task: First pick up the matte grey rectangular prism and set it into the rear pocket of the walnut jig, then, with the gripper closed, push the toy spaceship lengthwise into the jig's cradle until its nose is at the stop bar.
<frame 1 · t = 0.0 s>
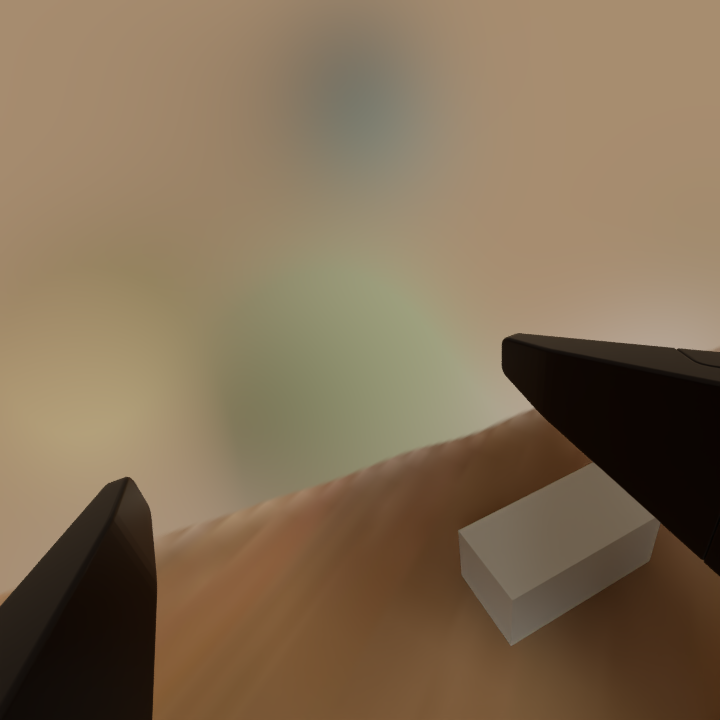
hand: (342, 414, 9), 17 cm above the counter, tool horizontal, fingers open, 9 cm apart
matte grey rectangular prism: (553, 570, 22), on the counter
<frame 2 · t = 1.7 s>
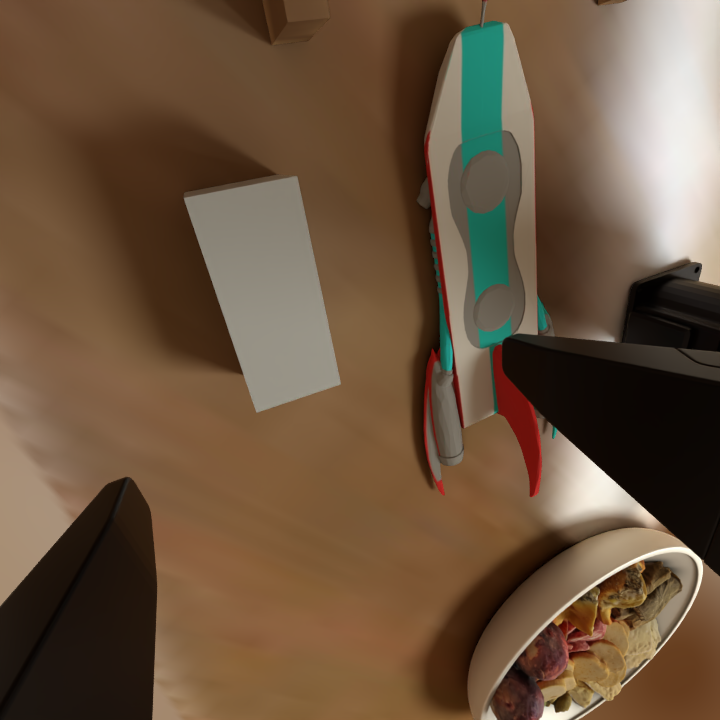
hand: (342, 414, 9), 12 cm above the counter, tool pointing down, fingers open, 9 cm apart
toy spaceship: (469, 296, 25), on the counter
bowl: (561, 610, 48), on the counter
matte grey rectangular prism: (259, 282, 20), on the counter
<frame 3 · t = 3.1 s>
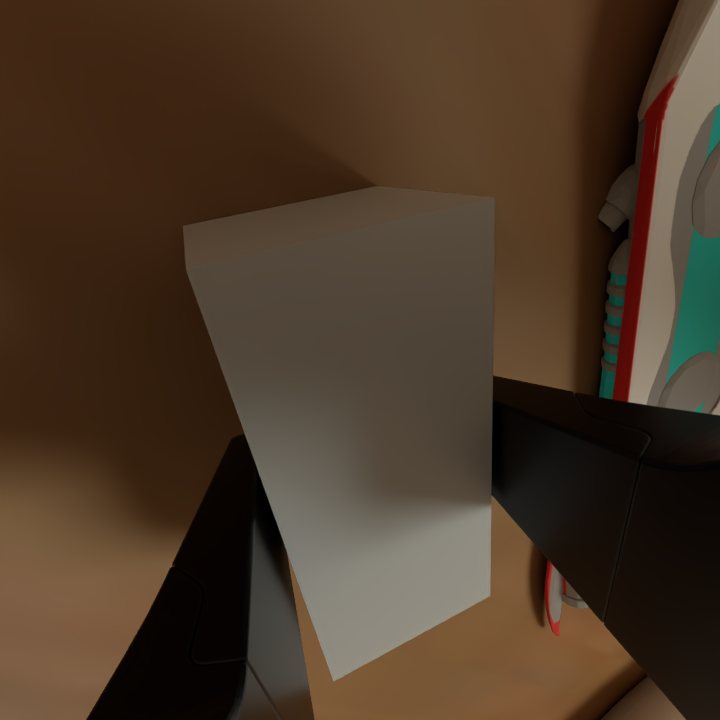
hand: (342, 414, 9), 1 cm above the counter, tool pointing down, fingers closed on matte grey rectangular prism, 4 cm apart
toy spaceship: (630, 363, 16), on the counter
bowl: (648, 711, 39), on the counter
matte grey rectangular prism: (325, 388, 10), on the counter, touching gripper
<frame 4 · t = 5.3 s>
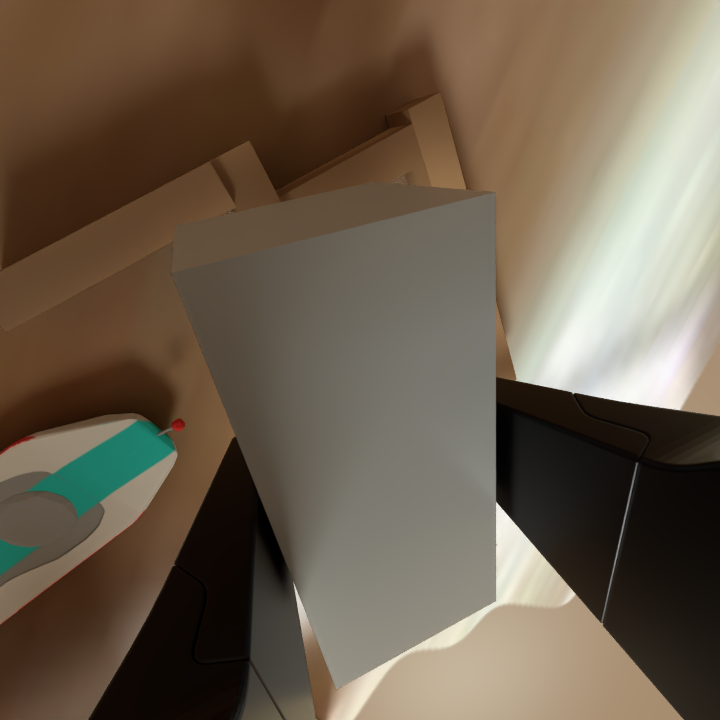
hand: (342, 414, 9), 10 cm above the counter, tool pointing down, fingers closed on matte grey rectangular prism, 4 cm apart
jig: (242, 392, 19), on the counter
matte grey rectangular prism: (325, 390, 10), point 9 cm above the counter, touching gripper
when the fingers open (3 cm above the counter, at t = 7.0 s): matte grey rectangular prism drops 3 cm, resting in jig.
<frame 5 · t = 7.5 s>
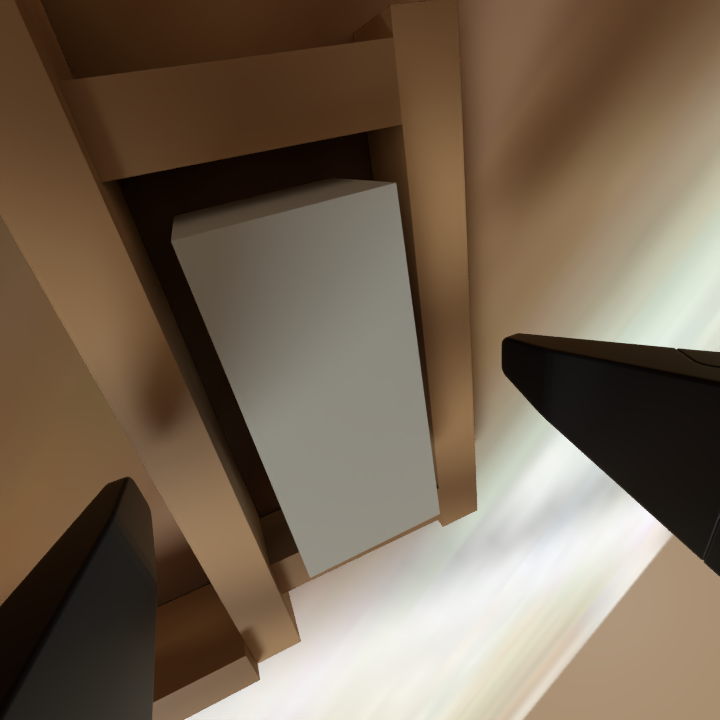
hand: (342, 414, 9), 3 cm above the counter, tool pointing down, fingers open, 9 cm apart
matte grey rectangular prism: (300, 349, 12), resting in jig
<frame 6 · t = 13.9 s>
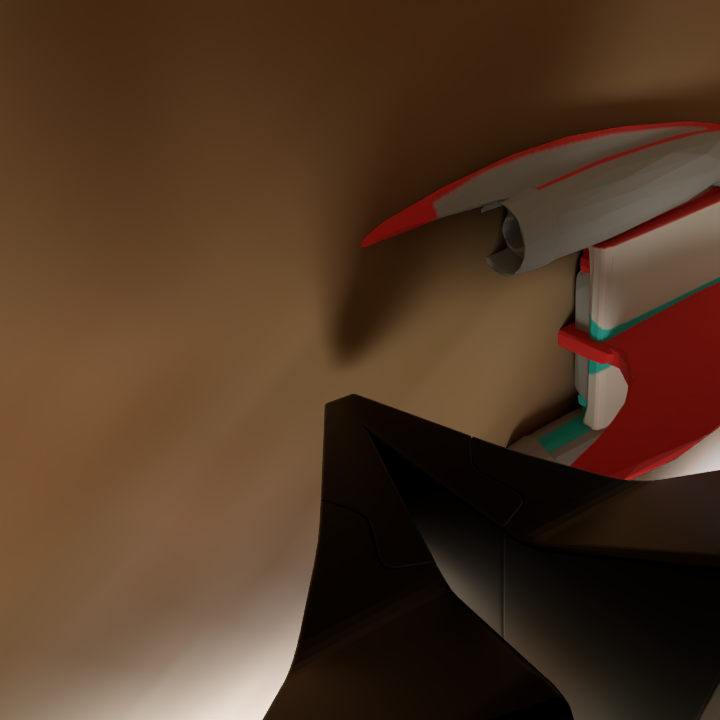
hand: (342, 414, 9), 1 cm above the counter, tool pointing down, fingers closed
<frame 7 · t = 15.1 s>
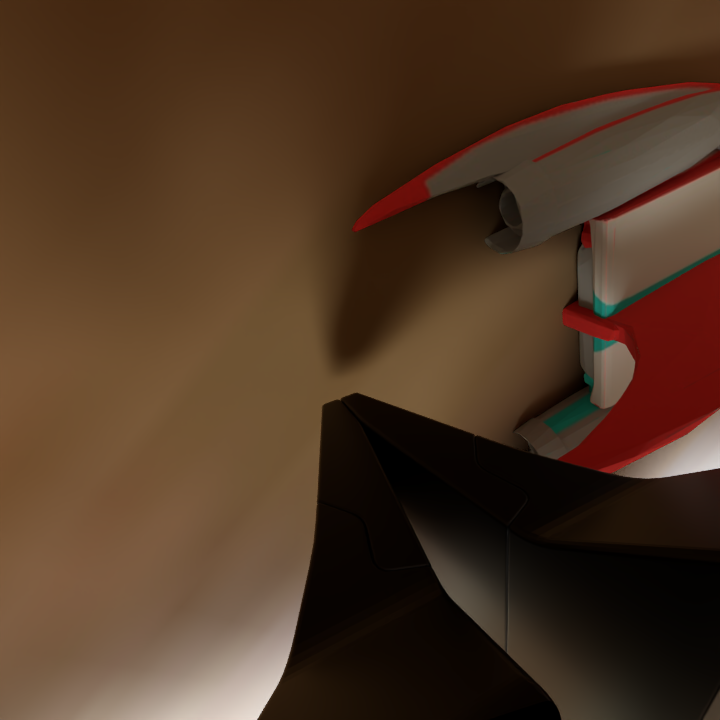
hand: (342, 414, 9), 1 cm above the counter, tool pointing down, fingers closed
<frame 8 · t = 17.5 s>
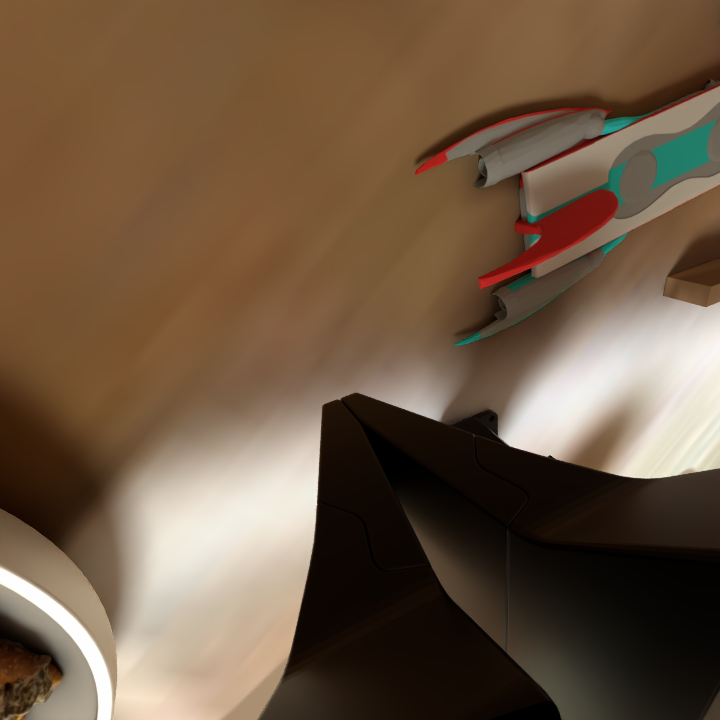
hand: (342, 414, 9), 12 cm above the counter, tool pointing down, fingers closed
toy spaceship: (613, 169, 25), on the counter
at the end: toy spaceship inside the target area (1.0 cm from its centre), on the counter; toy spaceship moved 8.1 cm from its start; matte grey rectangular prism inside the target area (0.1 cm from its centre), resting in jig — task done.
